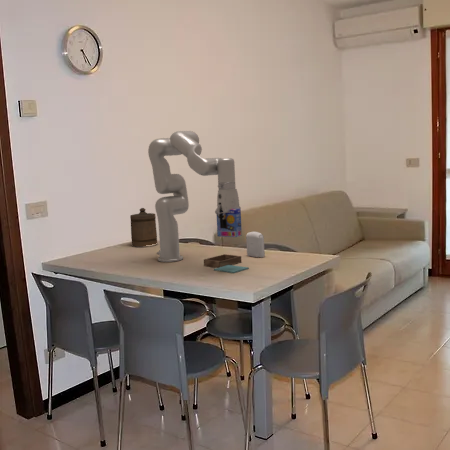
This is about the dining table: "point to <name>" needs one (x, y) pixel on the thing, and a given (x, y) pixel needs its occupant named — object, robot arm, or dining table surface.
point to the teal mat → (231, 268)
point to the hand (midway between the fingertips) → (228, 226)
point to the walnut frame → (222, 260)
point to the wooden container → (143, 228)
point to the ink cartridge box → (230, 224)
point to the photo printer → (255, 244)
